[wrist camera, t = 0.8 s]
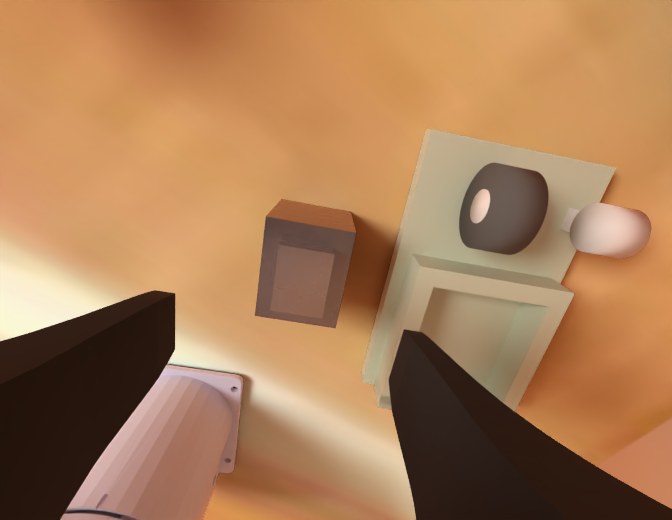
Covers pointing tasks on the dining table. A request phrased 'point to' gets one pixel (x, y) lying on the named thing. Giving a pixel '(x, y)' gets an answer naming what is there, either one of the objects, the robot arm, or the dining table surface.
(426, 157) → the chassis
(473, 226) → the wheel
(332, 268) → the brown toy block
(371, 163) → the dining table surface
